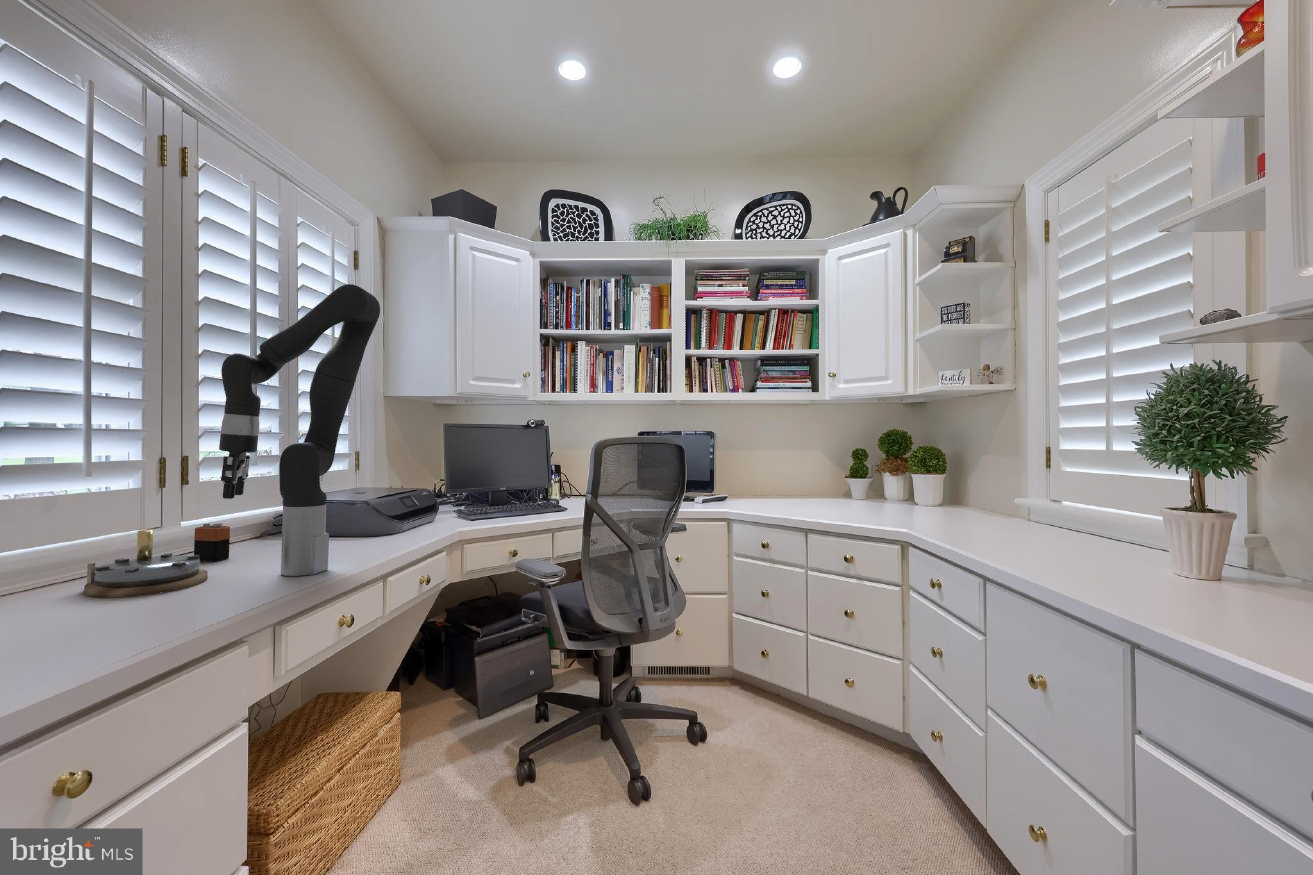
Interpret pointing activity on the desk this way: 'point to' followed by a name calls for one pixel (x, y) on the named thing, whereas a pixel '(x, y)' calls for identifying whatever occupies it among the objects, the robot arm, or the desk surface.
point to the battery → (212, 542)
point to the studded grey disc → (146, 567)
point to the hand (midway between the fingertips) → (233, 496)
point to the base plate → (115, 592)
